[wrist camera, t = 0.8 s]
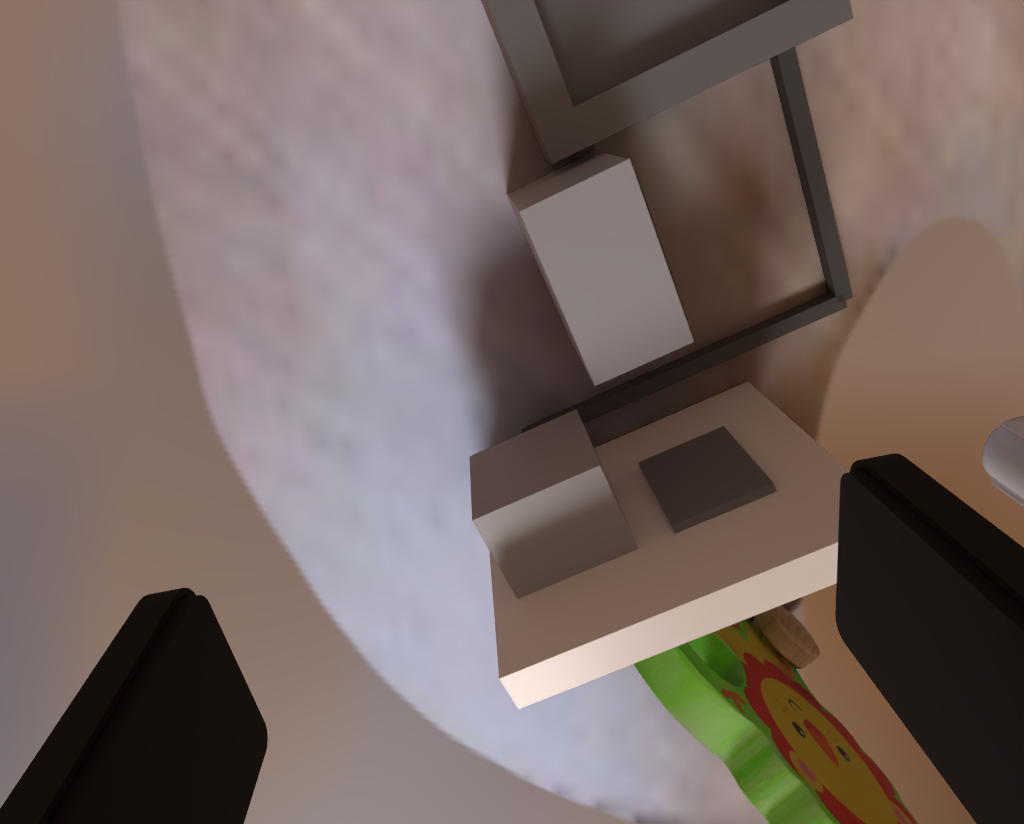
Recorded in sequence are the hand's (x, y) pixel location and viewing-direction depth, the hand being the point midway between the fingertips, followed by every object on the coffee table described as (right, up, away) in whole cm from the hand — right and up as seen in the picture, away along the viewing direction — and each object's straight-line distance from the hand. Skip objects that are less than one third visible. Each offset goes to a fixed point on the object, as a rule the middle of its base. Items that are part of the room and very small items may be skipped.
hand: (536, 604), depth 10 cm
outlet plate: (+4, +2, +22) cm, 23 cm away
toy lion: (+10, -8, +28) cm, 30 cm away
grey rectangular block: (+3, +10, +19) cm, 22 cm away
